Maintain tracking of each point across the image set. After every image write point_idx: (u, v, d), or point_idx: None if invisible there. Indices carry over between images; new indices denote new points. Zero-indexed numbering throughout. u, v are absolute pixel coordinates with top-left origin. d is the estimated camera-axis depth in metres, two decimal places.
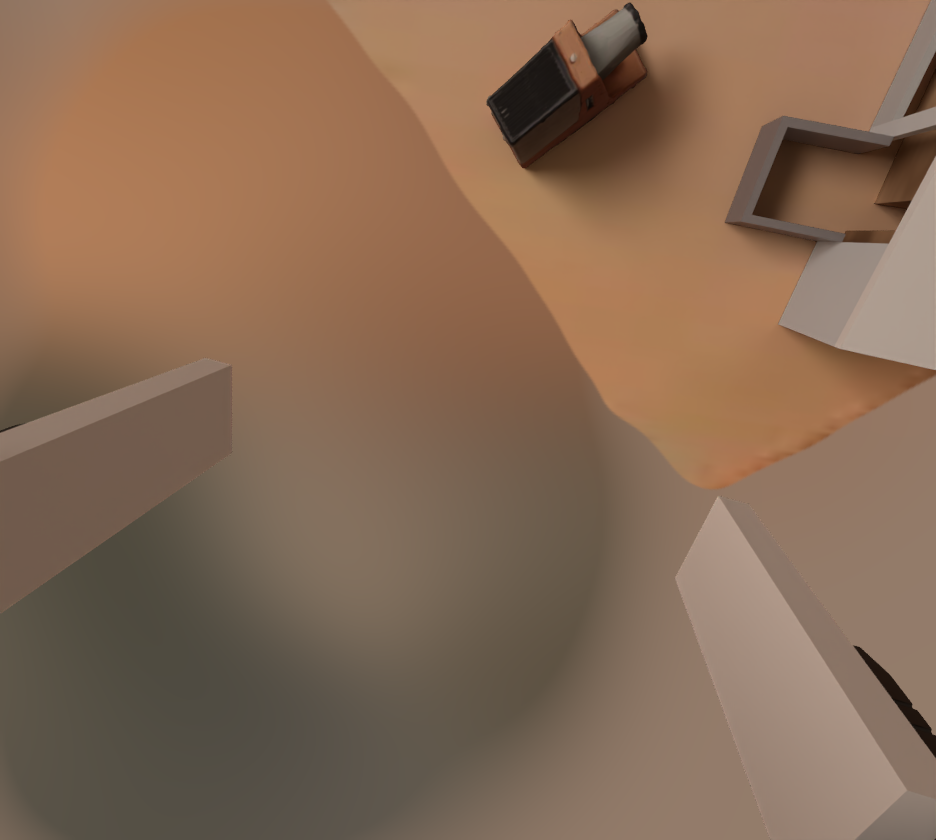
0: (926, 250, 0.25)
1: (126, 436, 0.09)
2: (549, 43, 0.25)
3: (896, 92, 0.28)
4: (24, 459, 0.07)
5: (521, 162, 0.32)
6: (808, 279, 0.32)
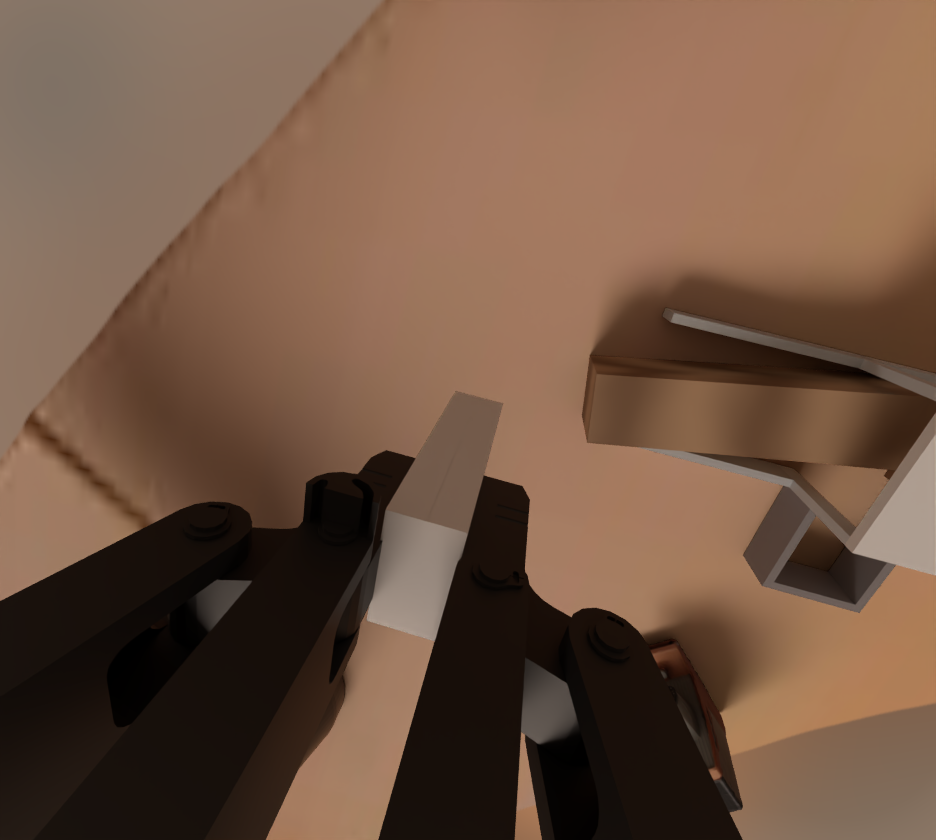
0: None
1: None
2: None
3: None
4: None
5: (725, 738, 0.35)
6: None
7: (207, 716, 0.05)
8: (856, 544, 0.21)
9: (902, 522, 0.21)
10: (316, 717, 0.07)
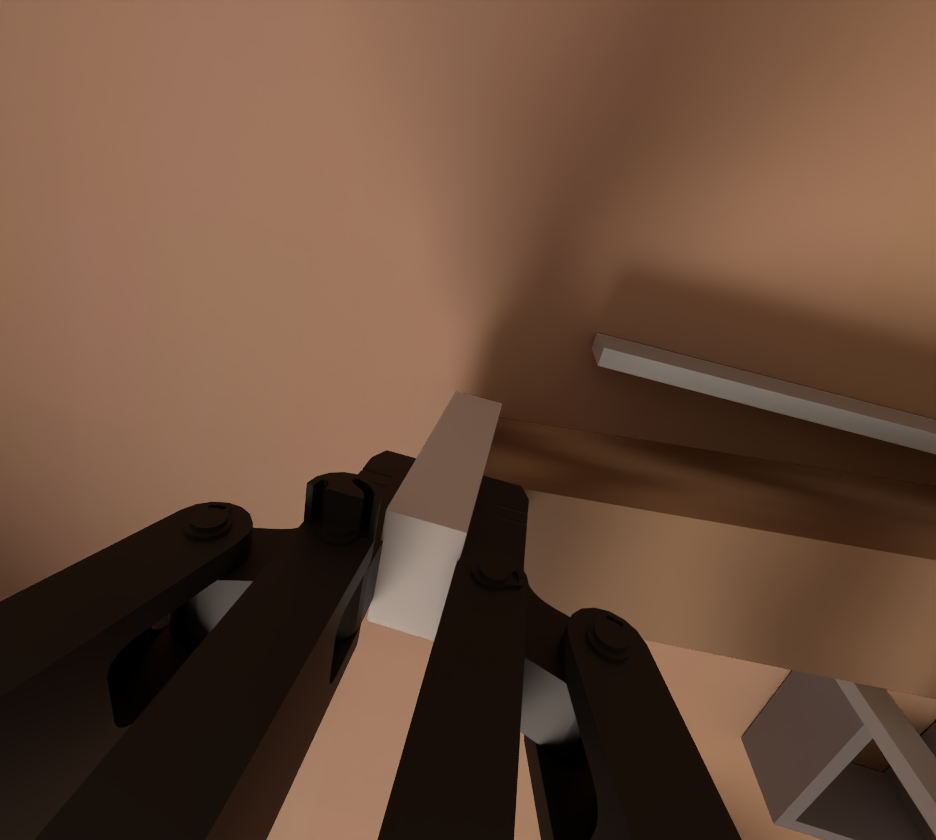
0: None
1: None
2: None
3: None
4: None
5: None
6: None
7: (208, 716, 0.05)
8: None
9: None
10: (317, 717, 0.07)
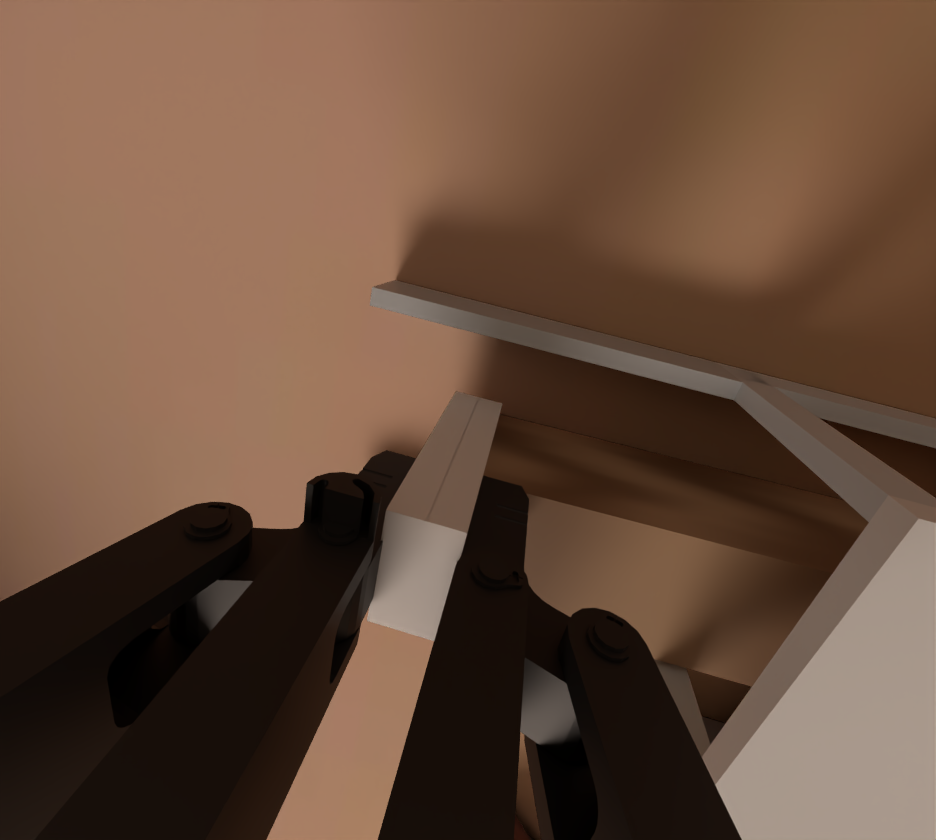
0: None
1: None
2: None
3: None
4: None
5: None
6: None
7: (208, 717, 0.05)
8: None
9: (783, 790, 0.08)
10: (316, 717, 0.07)
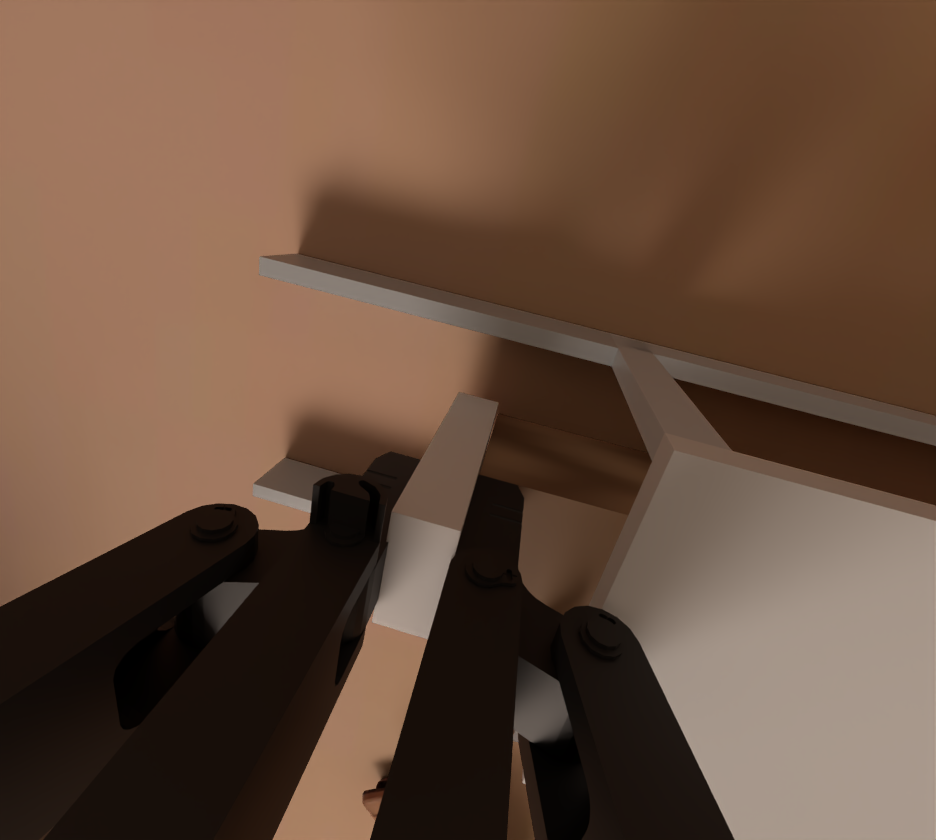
0: None
1: None
2: None
3: None
4: None
5: None
6: None
7: (214, 719, 0.05)
8: None
9: None
10: (321, 719, 0.07)
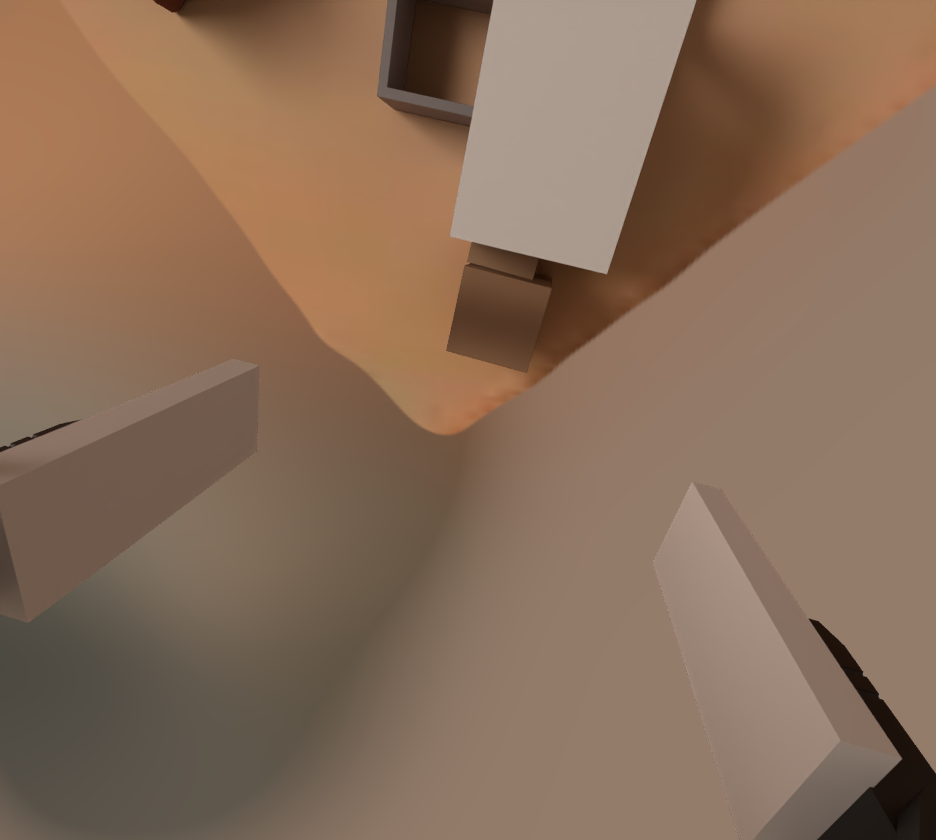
0: (510, 103, 0.20)
1: (165, 434, 0.10)
2: None
3: None
4: (78, 456, 0.08)
5: None
6: None
7: None
8: None
9: None
10: None
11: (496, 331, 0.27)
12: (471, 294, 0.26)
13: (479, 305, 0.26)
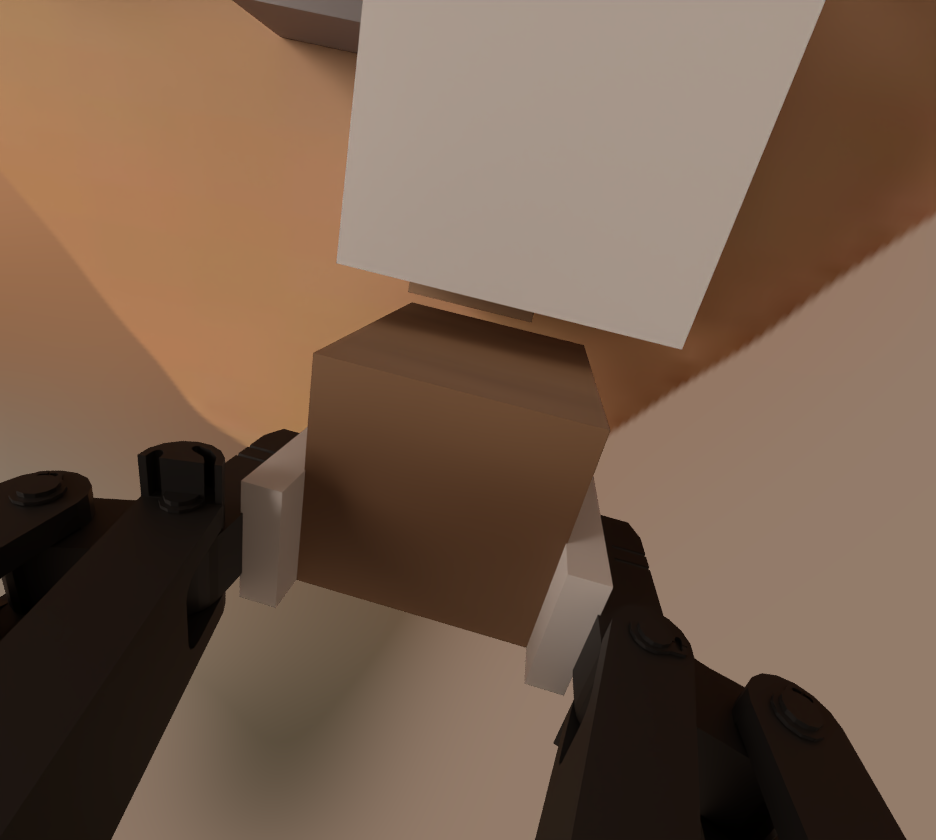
0: None
1: None
2: None
3: None
4: None
5: None
6: None
7: (30, 686, 0.04)
8: None
9: None
10: (178, 682, 0.07)
11: (431, 541, 0.09)
12: (345, 439, 0.08)
13: (375, 471, 0.08)
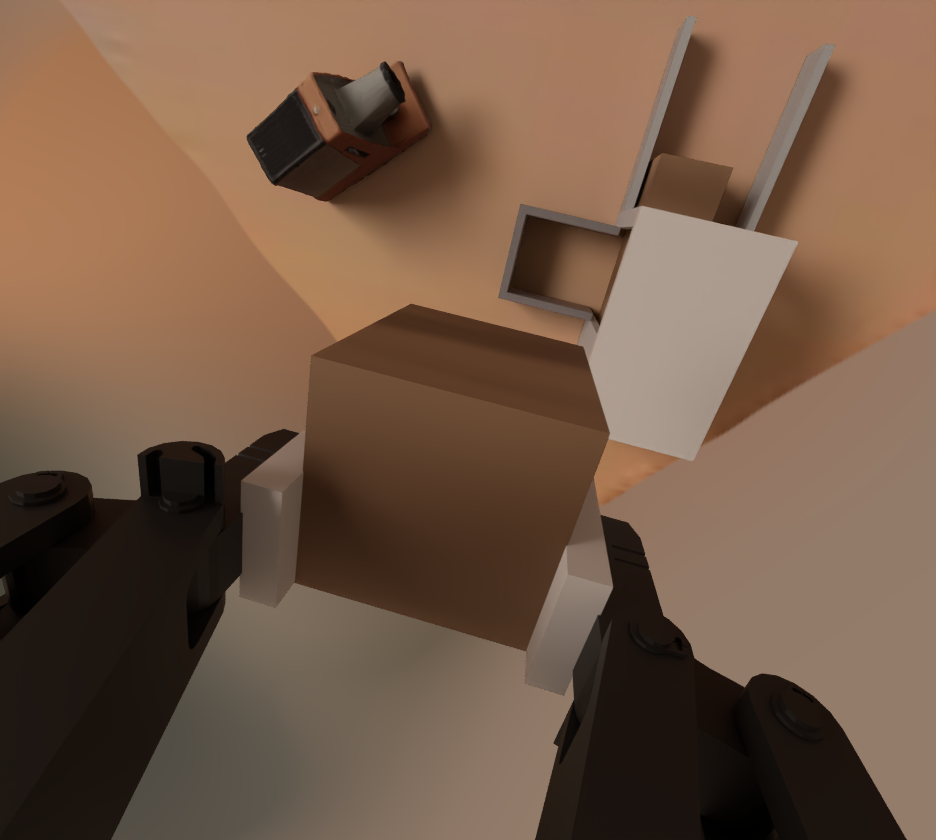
0: (624, 343, 0.26)
1: None
2: (294, 92, 0.25)
3: (631, 183, 0.29)
4: None
5: (313, 196, 0.32)
6: None
7: (30, 686, 0.04)
8: (649, 208, 0.24)
9: (674, 237, 0.24)
10: (178, 682, 0.07)
11: (429, 544, 0.09)
12: (344, 442, 0.08)
13: (373, 474, 0.08)
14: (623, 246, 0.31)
